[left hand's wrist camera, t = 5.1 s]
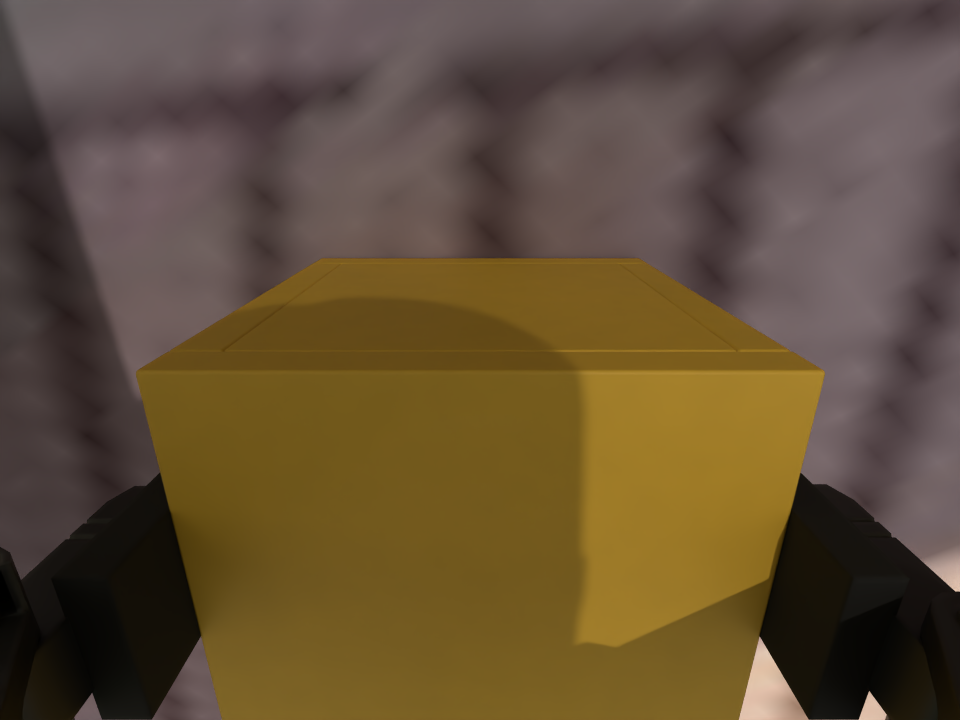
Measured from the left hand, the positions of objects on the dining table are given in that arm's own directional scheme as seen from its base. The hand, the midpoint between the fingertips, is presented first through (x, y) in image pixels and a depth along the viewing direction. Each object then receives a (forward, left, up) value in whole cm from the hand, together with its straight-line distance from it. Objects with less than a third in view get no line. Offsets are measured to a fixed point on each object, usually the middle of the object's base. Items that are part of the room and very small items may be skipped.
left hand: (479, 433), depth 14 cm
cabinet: (+5, -1, -4) cm, 7 cm away
